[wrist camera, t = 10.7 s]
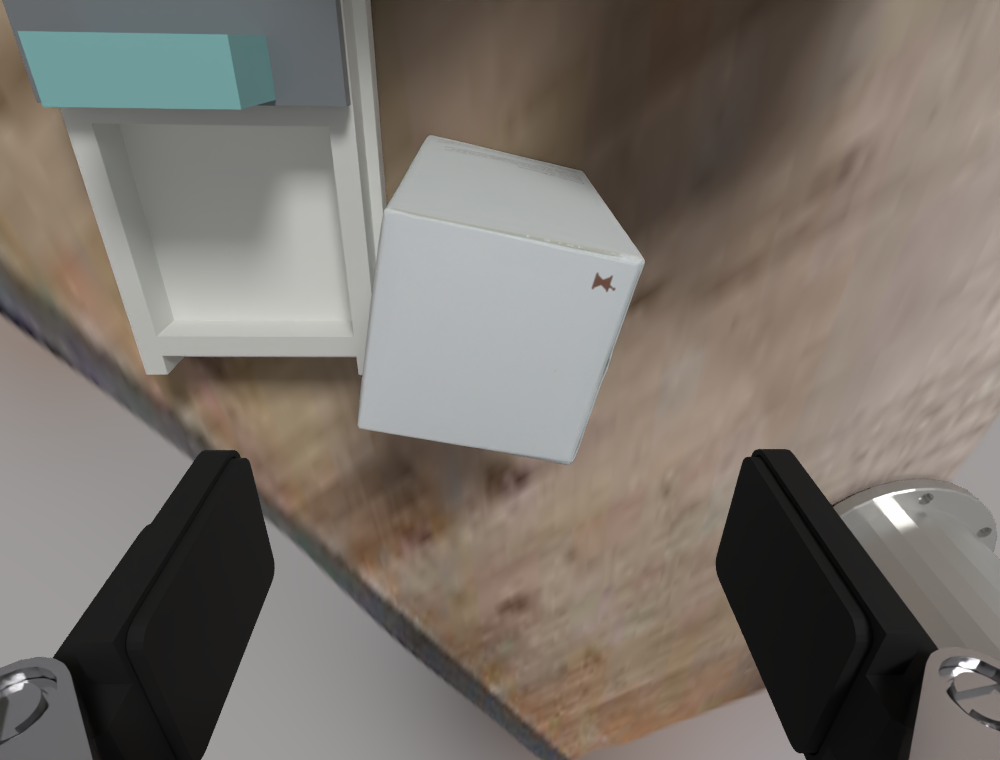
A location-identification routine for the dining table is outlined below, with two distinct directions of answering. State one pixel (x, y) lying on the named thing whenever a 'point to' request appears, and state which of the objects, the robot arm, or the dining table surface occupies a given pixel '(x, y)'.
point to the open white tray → (242, 218)
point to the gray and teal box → (182, 53)
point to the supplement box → (494, 303)
